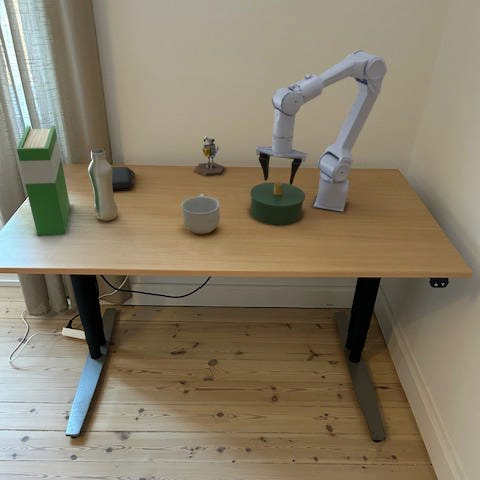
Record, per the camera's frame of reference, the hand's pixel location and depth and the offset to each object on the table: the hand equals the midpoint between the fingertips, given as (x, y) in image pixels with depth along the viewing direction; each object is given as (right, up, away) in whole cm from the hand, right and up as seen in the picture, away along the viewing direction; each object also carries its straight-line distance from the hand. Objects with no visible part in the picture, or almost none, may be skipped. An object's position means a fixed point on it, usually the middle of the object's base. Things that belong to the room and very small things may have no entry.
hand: (278, 181), depth 147 cm
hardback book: (-66, -12, -3) cm, 67 cm away
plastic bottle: (-51, -11, 0) cm, 52 cm away
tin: (0, -8, +6) cm, 10 cm away
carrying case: (-52, +5, +19) cm, 56 cm away
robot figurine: (-22, +12, +30) cm, 39 cm away
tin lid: (0, -3, +3) cm, 5 cm away
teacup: (-23, -14, -2) cm, 27 cm away
